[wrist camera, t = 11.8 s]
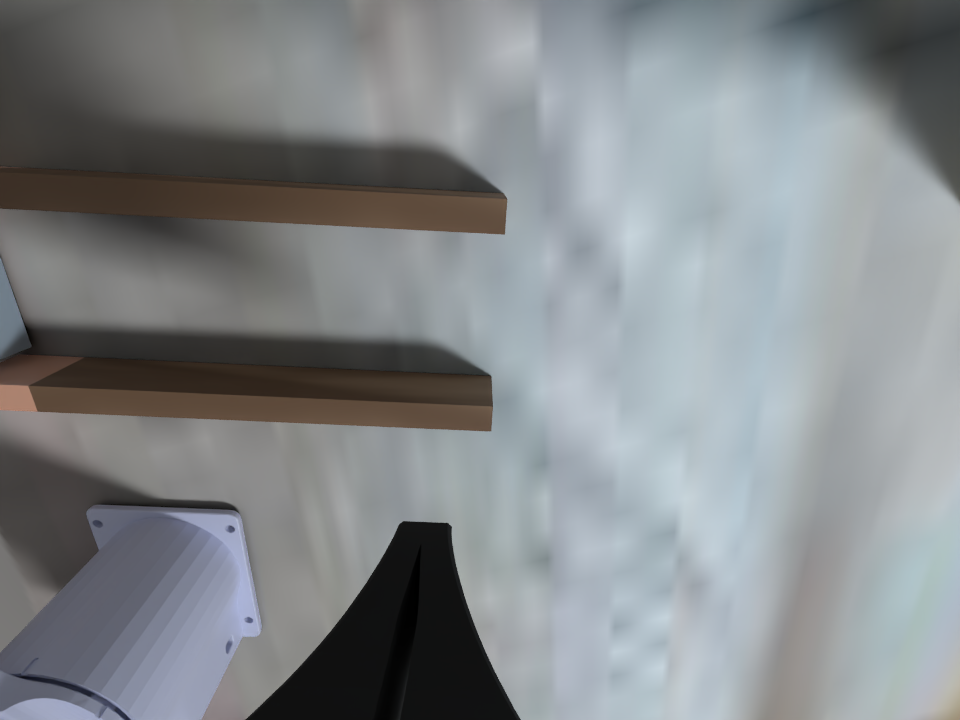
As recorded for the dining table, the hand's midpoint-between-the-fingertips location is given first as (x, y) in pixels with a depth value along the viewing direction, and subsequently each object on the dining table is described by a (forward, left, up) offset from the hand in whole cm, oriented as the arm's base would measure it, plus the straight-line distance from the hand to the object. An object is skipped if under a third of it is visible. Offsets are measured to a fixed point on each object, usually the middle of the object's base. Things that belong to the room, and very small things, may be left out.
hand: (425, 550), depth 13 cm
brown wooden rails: (+4, +9, -10) cm, 14 cm away
